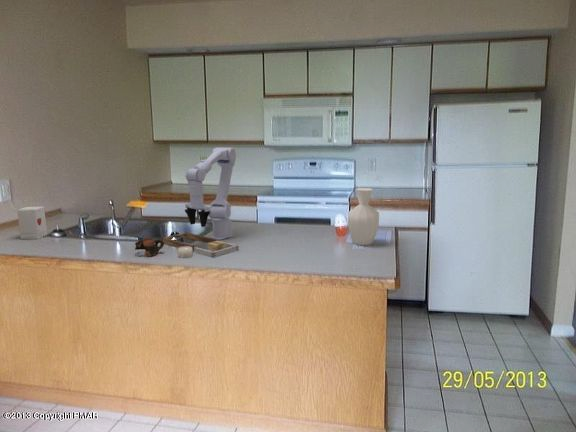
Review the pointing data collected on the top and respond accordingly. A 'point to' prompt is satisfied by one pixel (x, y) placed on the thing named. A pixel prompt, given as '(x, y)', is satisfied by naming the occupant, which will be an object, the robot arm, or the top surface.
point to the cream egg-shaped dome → (185, 252)
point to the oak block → (216, 246)
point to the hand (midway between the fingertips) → (198, 225)
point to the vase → (363, 219)
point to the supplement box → (32, 222)
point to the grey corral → (228, 249)
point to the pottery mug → (149, 246)
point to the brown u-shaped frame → (190, 236)
